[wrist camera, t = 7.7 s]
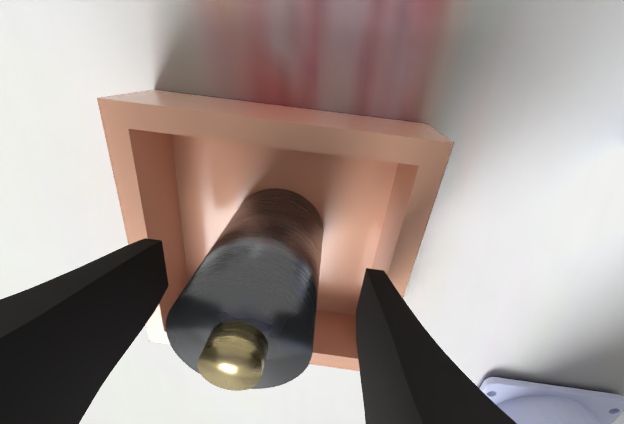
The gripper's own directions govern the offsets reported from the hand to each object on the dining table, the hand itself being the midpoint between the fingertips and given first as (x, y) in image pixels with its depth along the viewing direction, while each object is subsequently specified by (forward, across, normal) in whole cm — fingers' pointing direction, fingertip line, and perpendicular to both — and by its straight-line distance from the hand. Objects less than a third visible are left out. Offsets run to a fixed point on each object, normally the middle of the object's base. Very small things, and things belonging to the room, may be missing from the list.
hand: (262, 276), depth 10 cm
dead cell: (+3, 0, 0) cm, 3 cm away
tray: (+4, 0, 0) cm, 4 cm away
